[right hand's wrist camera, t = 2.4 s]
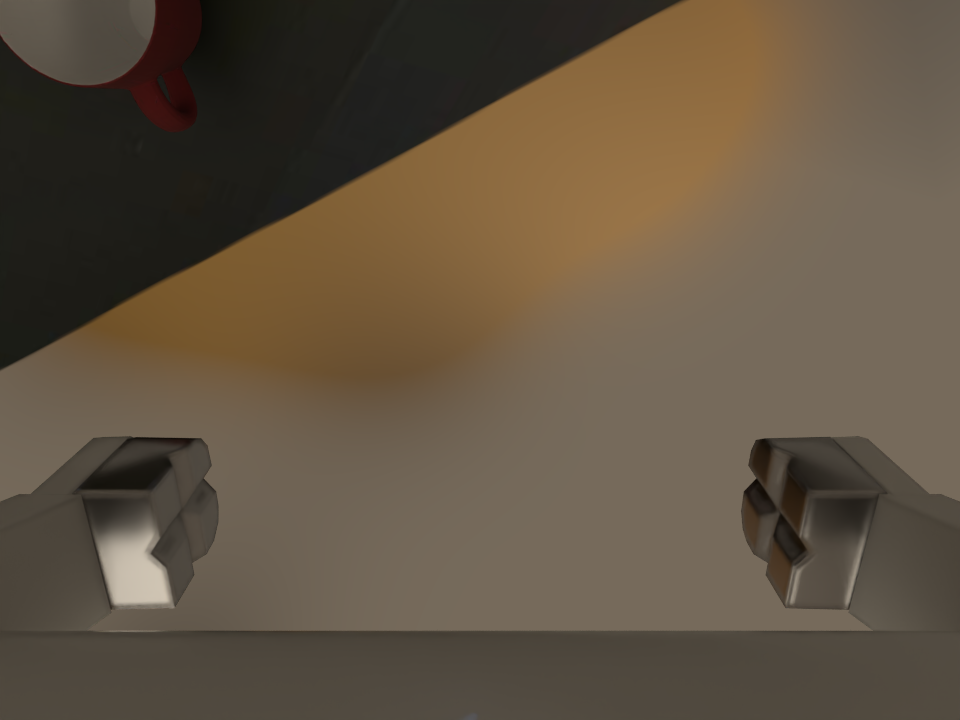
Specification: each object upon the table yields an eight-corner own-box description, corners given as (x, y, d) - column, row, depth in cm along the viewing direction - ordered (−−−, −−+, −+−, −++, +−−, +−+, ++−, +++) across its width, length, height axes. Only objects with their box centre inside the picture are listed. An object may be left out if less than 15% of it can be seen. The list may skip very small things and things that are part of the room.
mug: (282, 88, 41) (224, 88, 32) (173, 149, 42) (88, 167, 33) (179, -95, 38) (81, -155, 28) (64, -22, 39) (-66, -56, 30)
